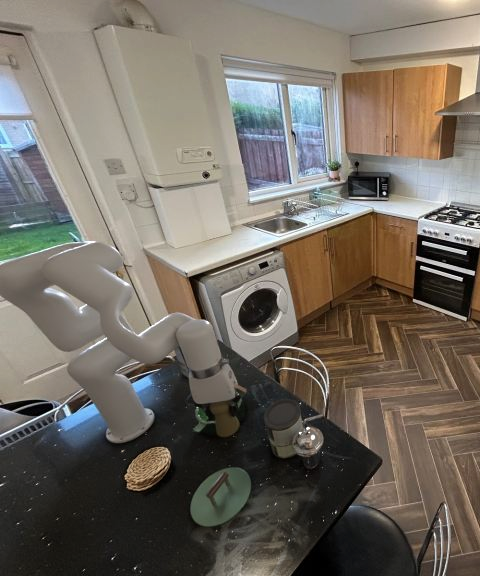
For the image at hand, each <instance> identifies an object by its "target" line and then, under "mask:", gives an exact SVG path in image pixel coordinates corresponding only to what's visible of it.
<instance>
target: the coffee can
mask: <svg viewBox="0 0 480 576" xmlns="http://www.w3.org/2000/svg"><path fill="white" fill-rule="evenodd" d="M301 411H302V410H301V406H300V404H299V403H298V402H297V401H296V400H294V399H290V398H283V399H280V400H277V401H275V402H272V403H271V404H270V405H269V406H268V407H267V409H266V410H265V412H264V414H263V423H264V424H265V429H266V433H267V436H268V439H269V444H270V447H271V451H272V453H273V454H274V455H275V456H276V457H277V458H282V459H287V458H292V457H293V456H296V455H298V454H297V453H296V452H295V451H294V449H293V446H292V444H293V439H294V437H295V435H296V434H297V433H298V432H299V431H300V430H301V429H302V428H304V424H303V418H302V414H301Z"/></svg>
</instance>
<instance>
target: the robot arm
mask: <svg viewBox="0 0 480 576" xmlns="http://www.w3.org/2000/svg"><path fill="white" fill-rule="evenodd" d="M123 266H124V258H123V256H122V253H120V251H119V250H118V249H116V248H115V247H113V245H110V244H109V243H105V242H102V241H95V240H94V241H93V240H92V241H78V242H77V241H75V242H67V243H66V242H65V243H62V244H58V245H56V246H52V247H49V248H46V249H42V250H39V251H36V252H32V253H29V254H25V255H22V256H18V257H17V258H13V259H11V260H8V261H5V262H3V263H1V264H0V297H1V298H3V299H4V300H5V301H7V302H8V303H9V304H12V306H15V307H17V308H18V309H19V310H21V311H22V312H24V314H26V316H28V317H29V318H30V320H31V321H32V322H33V323H34V325H35V326H36V328H38V329H39V330H40V332H41V333H42V334H43V335H44V336H45V337H46V339H47V340H48V341H49V342H50V343H51V344H52V345H53V346H54V347H55V348H56V349H58V350H59V351H61V352H63V353H64V352H65V353H70V352H75V351H78V350H80V349H82V348H84V347H85V346H87V345H89V344H90V343H92V342H95V340H97V339H99V338H101V337H103V336H105V337H104V338H103V339H101V340H99V341H97V342H96V343H94V344H92V345H91V346H89V347H88V348H86V349H84V350H82V351H81V352H79V353H78V354H76V355H75V356H74V357H73V358H72V359H71V360H70V361H69V363H68V364H67V366H66V371H67V372H66V373H68V376H69V377H71V378H72V380H73V381H74V382H76V383H77V384H78V385H79V386H80V387H81V389H83V391H84V392H85V393H86V395H87V397H88V398H89V399H90V400H91V402H92V404H93V405H94V407H95V408H96V410H97V412H98V413H99V415H100V416H101V418H102V419H103V421H104V423H105V424H106V426H107V429H106V431H105V437H106V439H107V441H108V442H110V443H112V444H123V443H127V442H131V441H132V440H135V439H137V438H138V437H140V436H142V435H143V434H144V433H146V432H147V431H148V429H150V428H151V426H152V425H153V423H154V421H155V413H154V412H153V410H152V409H151V408H148V407H144V405H143V403H142V401H141V399H140V398H139V395H138V394H137V391H136V390H135V388H134V386H133V384H132V382H131V381H130V379H129V378H128V377H127V376H126V375H123V374H120V373H117V371H119V370H120V369H121V368H122V367H124V366H125V365H126V364H128V363H129V362H130V361H132V360H135V361H136V362H138V363H141V364H144V365H154V364H158V363H160V362H161V361H163V360H164V359H165V358H166V357H168V356H170V354H171V353H173V352H175V351H174V350H175V349H176V348H178V347H179V346H180V348H181V350H182V353H183V355H184V358H185V361H186V363H187V366H188V368H189V371H190V372H189V378H188V385H189V390H190V394H189V395H188V396H187V398H186V400H185V402H186V404H190V405H193V406H195V407H196V408H197V407H199V408H201V410H202V411H205V414H206V416H208V419H207V420H208V421H213V419H214V417H215V416H214V414H213V413H212V412H211V411H210V404H211V403H212V402H219V401H227V402H228V403H229V404H230V407H229V409H230V412H231V415H232V417H235V415H236V412H238V404H237V402H238V401H239V400H240V399H241V398H242V399H243V398H244V396H246V395H247V392H248V390H247V388H245V387H243V386H241V385H239V383H238V380H237V378H236V376H235V373H234V371H233V369H232V367H231V366H230V359H229V358H224V355H223V354H222V353H221V350H220V346H219V343H218V340H217V336H216V334H215V330H214V328H213V327H214V326H213V325H212V323H211V322H210V321H208V320H207V319H196V318H194V317H191V316H189V315H187V314H185V313H183V312H172V313H170V314H168V315H166V316H164V317H163V318H162V319H160V320H158V321H157V322H155V323H154V324H152V325H151V326H149V327H148V328H147V329H144V330H143V331H142V332H140V333H139V334H137V333H136V332H135V331H134V329H133V328H132V326H131V324H129V322H128V321H127V319H126V318H125V316H124V315H123V314H122V313H123V312H124V310H125V309H126V307H127V306H128V305H129V303H130V302H131V300H132V298H133V296H134V288H133V286H132V285H131V284H130V283H128V282H126V281H125V280H123V279H122V278H120V277H119V276H117V275H116V274H115V272H118V271H120V269H122V268H123ZM53 286H57V287H58V288H60V289H61V290H63V291H64V292H65V293H64V292H62V291H59V290H57V289H54V288H51V287H53ZM66 293H67V294H66ZM68 294H69V295H70V296H73V298H75V299H77V300H78V301H80V302H81V303H83V304H84V305H82V306H80V307H78V306H77V305H76V304H75V303H74V301H73V300H72V298H70V296H69V295H68ZM235 391H236V392H238V393H237V394H236V395H235Z"/></svg>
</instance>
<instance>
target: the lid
mask: <svg viewBox="0 0 480 576" xmlns="http://www.w3.org/2000/svg"><path fill="white" fill-rule="evenodd" d="M251 491H252V481H251V478H250V475H249V473H248V472H246V471H245V470H244V469H242V468H240V467H227V468H223V469H220V470H218V471H216V472H214V473H212V474H210V475H209V476H208V477H207V478H206V479H205V480H203V481H202V482H201V484H200V485H199V486H198V487H197V489H196V491H195V492H194V494H193V496H192V499H191V502H190V507H189V510H190V515H191V518H192V520H193V521H194V522H195V523H196V525H199V526H200V527H204V528H214V527H219V526H221V525H223V524H225V523H227V522H229V521H230V520H233V518H235V517H236V516H237V515H238V514H239V513H240V512H241V511H242V510H243V508H244V507H245V505H246V504H247V502H248V500H249V498H250V496H251Z"/></svg>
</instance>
